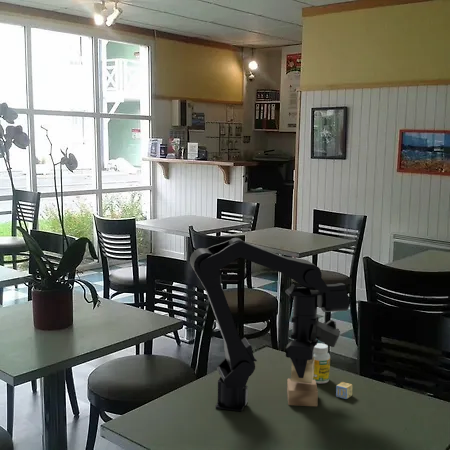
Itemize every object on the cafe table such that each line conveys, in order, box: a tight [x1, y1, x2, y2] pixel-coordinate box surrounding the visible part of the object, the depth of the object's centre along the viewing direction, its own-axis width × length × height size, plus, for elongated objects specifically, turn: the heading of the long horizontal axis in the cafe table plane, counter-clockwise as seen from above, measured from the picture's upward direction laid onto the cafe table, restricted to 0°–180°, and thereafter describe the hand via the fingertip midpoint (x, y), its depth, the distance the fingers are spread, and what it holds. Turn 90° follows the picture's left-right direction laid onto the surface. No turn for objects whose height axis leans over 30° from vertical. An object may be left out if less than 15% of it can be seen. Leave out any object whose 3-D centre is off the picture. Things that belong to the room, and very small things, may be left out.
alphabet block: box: [335, 381, 353, 400], centre depth 145 cm, size 3×3×3 cm
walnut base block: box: [286, 378, 319, 407], centre depth 143 cm, size 7×7×4 cm
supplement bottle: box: [313, 342, 331, 384], centre depth 154 cm, size 5×5×10 cm
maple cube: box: [290, 356, 315, 384], centre depth 142 cm, size 5×5×5 cm
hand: (302, 373), depth 142 cm, fingers closed on maple cube, 5 cm apart
